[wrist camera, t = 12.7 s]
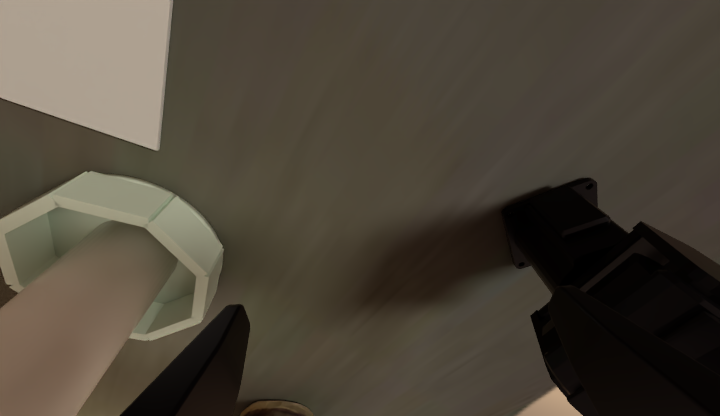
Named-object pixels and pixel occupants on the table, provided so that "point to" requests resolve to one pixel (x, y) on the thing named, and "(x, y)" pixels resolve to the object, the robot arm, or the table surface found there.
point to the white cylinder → (78, 319)
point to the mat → (89, 62)
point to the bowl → (129, 205)
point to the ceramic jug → (276, 409)
